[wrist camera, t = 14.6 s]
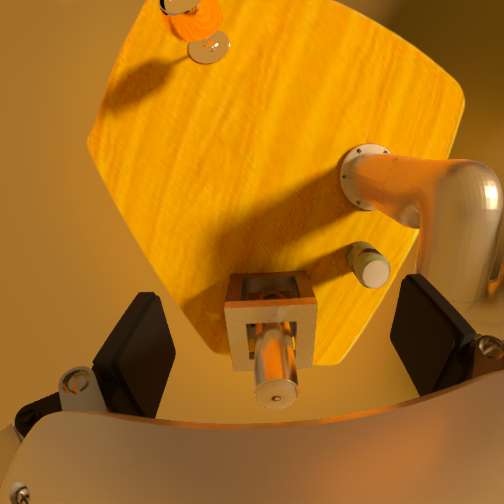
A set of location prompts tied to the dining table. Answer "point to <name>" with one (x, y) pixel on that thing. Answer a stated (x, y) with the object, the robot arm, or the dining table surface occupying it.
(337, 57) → the dining table surface
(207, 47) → the wineglass
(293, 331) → the collar stand
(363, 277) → the beverage can
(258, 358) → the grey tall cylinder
